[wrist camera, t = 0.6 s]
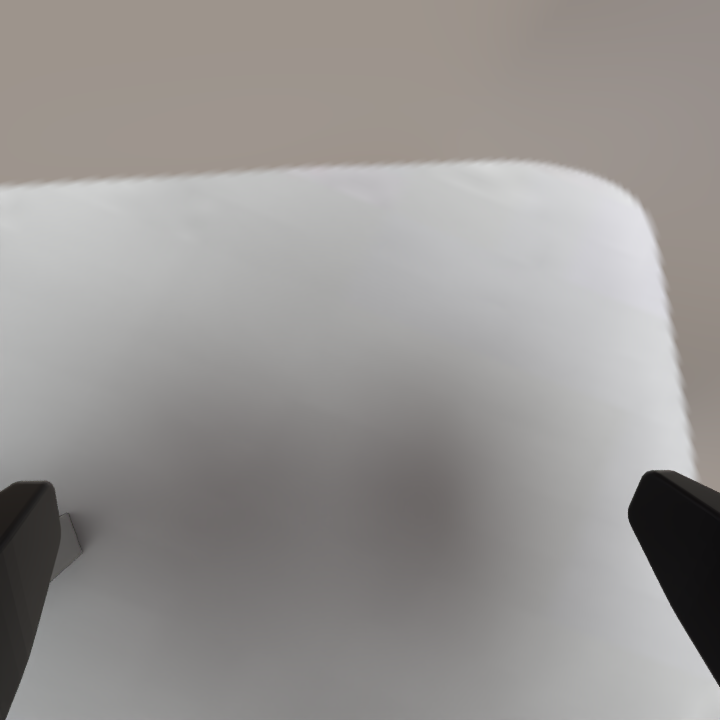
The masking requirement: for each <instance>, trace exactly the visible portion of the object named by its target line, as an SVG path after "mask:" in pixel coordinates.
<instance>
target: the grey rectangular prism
mask: <svg viewBox="0 0 720 720" xmlns="http://www.w3.org/2000/svg"><path fill="white" fill-rule="evenodd" d="M59 518H60V524H61V541H60V546H59V550H58V554H57V558H56V561H55V565H54V569H53V573H52V576H51V580H50V582H51V581H52V580H53V579H54V578H55V577H57V576H58V575H59V574H60V573H61V572H62V571H63V570H64V569H65V568H67V567H68V566H69V565H70V564H71V563H72V562H73V561H74V560H75V559H77V558H78V557H79V556H80V555H81V554H82V551H81V548H80V545H79V542H78V539H77V536H76V534H75V531H74V528H73V525H72V522H71V520H70V517H69V514H68V513H67V514H64V515H61V516H59Z"/></svg>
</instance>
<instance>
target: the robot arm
mask: <svg viewBox="0 0 720 720" xmlns="http://www.w3.org/2000/svg"><path fill="white" fill-rule="evenodd" d="M628 519H629V522H630V525H631V527H632V529H633V531H634V533H635V535H636V537H637V539H638V541H639V543H640V545H641V547H642V549H643V551H644V553H645V555H646V557H647V559H648V561H649V563H650V565H651V567H652V569H653V571H654V573H655V575H656V577H657V579H658V581H659V583H660V585H661V587H662V589H663V591H664V593H665V595H666V597H667V599H668V601H669V603H670V605H671V607H672V609H673V610H674V612H675V614H676V616H677V617H678V619H679V621H680V623H681V624H682V626H683V628H684V629H685V631H686V632H687V634H688V636H689V637H690V639H691V641H692V642H693V644H694V646H695V647H696V649H697V651H698V652H699V654H700V656H701V657H702V659H703V660H704V662H705V664H706V665H707V667H708V669H709V670H710V672H711V674H712V675H713V677H714V679H715V680H716V682H717V684H718V685H719V687H720V493H719V492H717V491H715V490H713V489H711V488H708V487H707V486H704V485H702V484H700V483H698V482H696V481H694V480H692V479H690V478H688V477H685V476H683V475H681V474H679V473H677V472H675V471H671V470H651V471H648V472H646V473H645V474H644V475H643V476H642V478H641V480H640V482H639V485H638V487H637V489H636V492H635V494H634V496H633V498H632V501H631V503H630V505H629V508H628ZM60 541H61V524H60V518H59V512H58V506H57V500H56V494H55V489H54V487H53V485H52V483H50V482H48V481H18V482H15V483H13V484H11V485H10V486H8V487H7V488H5V489H4V490H2V491H1V492H0V720H6V717H7V715H8V712H9V709H10V707H11V704H12V702H13V699H14V697H15V694H16V692H17V689H18V687H19V684H20V682H21V679H22V676H23V673H24V671H25V668H26V665H27V662H28V660H29V656H30V653H31V649H32V646H33V643H34V639H35V635H36V632H37V628H38V624H39V621H40V617H41V613H42V609H43V606H44V602H45V598H46V595H47V591H48V587H49V584H50V580H51V576H52V573H53V569H54V565H55V561H56V558H57V554H58V550H59V546H60Z"/></svg>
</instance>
